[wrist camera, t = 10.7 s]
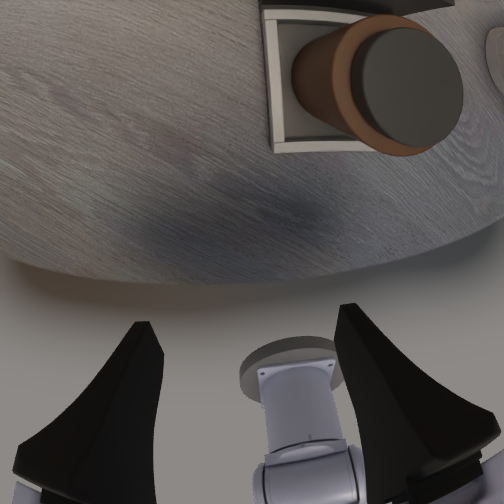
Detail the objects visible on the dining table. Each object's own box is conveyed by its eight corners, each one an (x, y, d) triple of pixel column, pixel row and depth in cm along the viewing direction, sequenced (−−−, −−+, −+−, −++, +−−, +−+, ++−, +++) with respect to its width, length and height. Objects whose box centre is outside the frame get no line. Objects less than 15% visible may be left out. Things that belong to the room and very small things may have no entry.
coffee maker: (390, 144, 16) (452, 180, 11) (269, 145, 16) (288, 183, 11) (383, -20, 10) (444, -46, 4) (254, -33, 10) (266, -86, 4)
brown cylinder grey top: (378, 125, 15) (468, 169, 8) (292, 124, 15) (342, 165, 8) (377, 42, 12) (473, 33, 5) (287, 34, 12) (336, -5, 5)
